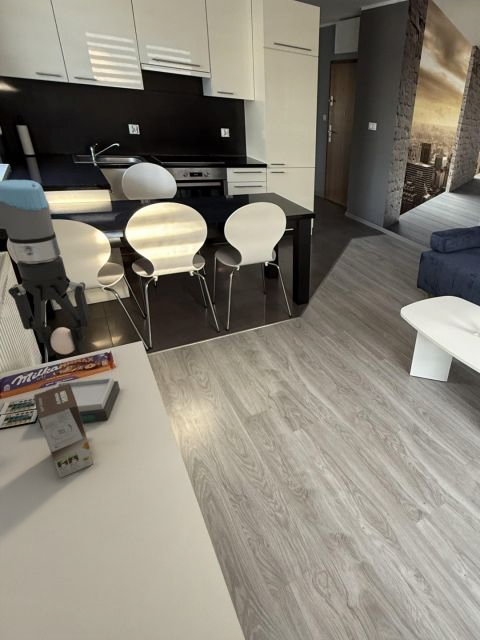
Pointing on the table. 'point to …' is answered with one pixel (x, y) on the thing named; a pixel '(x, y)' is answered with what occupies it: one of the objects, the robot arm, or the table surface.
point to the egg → (62, 341)
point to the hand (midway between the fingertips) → (66, 351)
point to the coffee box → (63, 429)
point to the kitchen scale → (94, 398)
